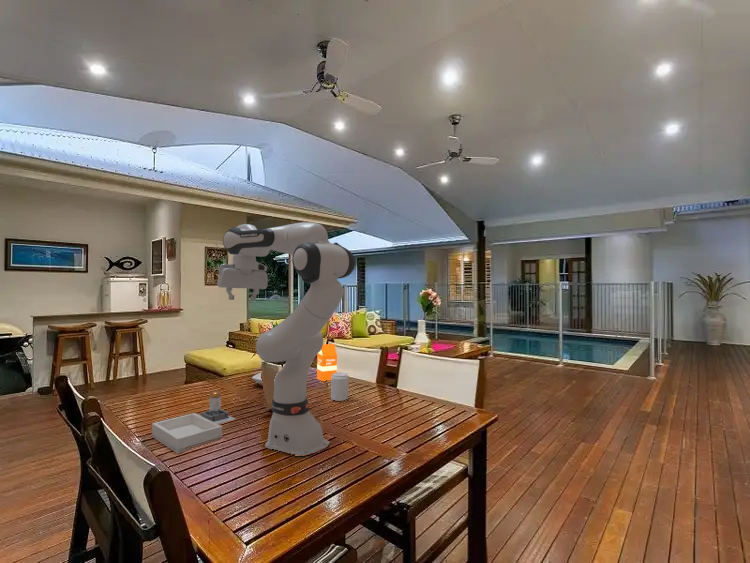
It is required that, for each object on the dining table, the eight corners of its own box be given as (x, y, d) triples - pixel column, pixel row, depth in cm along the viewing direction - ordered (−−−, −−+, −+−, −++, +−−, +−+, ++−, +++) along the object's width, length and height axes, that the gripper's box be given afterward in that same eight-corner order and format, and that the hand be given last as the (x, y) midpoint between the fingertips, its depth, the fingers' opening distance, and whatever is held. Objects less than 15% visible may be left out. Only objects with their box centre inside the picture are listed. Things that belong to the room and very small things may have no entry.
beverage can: (339, 403, 178) (340, 377, 178) (327, 399, 183) (327, 374, 183) (351, 399, 184) (352, 374, 184) (338, 396, 189) (339, 371, 189)
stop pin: (222, 417, 153) (223, 392, 153) (212, 420, 150) (212, 394, 150) (217, 415, 156) (217, 390, 156) (206, 417, 153) (207, 392, 153)
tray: (221, 439, 135) (222, 426, 135) (177, 453, 124) (177, 439, 124) (194, 424, 148) (194, 412, 148) (151, 436, 136) (152, 423, 136)
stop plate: (235, 421, 152) (236, 413, 152) (211, 428, 145) (211, 420, 145) (217, 413, 161) (217, 405, 161) (193, 419, 154) (193, 411, 154)
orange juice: (336, 380, 218) (337, 344, 218) (321, 382, 214) (322, 345, 214) (330, 377, 225) (331, 342, 225) (316, 379, 221) (317, 343, 221)
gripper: (223, 263, 147) (221, 299, 146) (270, 267, 162) (268, 300, 161) (215, 263, 151) (213, 299, 150) (262, 267, 166) (260, 299, 166)
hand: (242, 299), depth 156 cm, fingers open, 8 cm apart
